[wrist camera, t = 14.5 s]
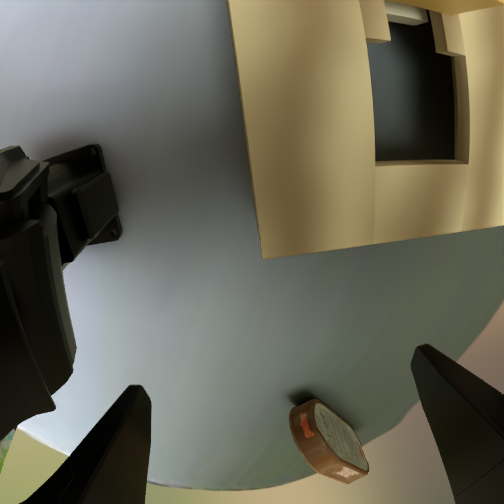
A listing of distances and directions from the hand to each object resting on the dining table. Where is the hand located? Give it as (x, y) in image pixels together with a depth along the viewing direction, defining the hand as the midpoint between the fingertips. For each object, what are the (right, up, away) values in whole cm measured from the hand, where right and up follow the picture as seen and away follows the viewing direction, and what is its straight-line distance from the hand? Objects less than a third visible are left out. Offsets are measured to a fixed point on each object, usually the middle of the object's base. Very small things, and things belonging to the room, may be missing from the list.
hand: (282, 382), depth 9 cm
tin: (+8, -15, +22) cm, 28 cm away
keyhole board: (+6, +17, +5) cm, 19 cm away
